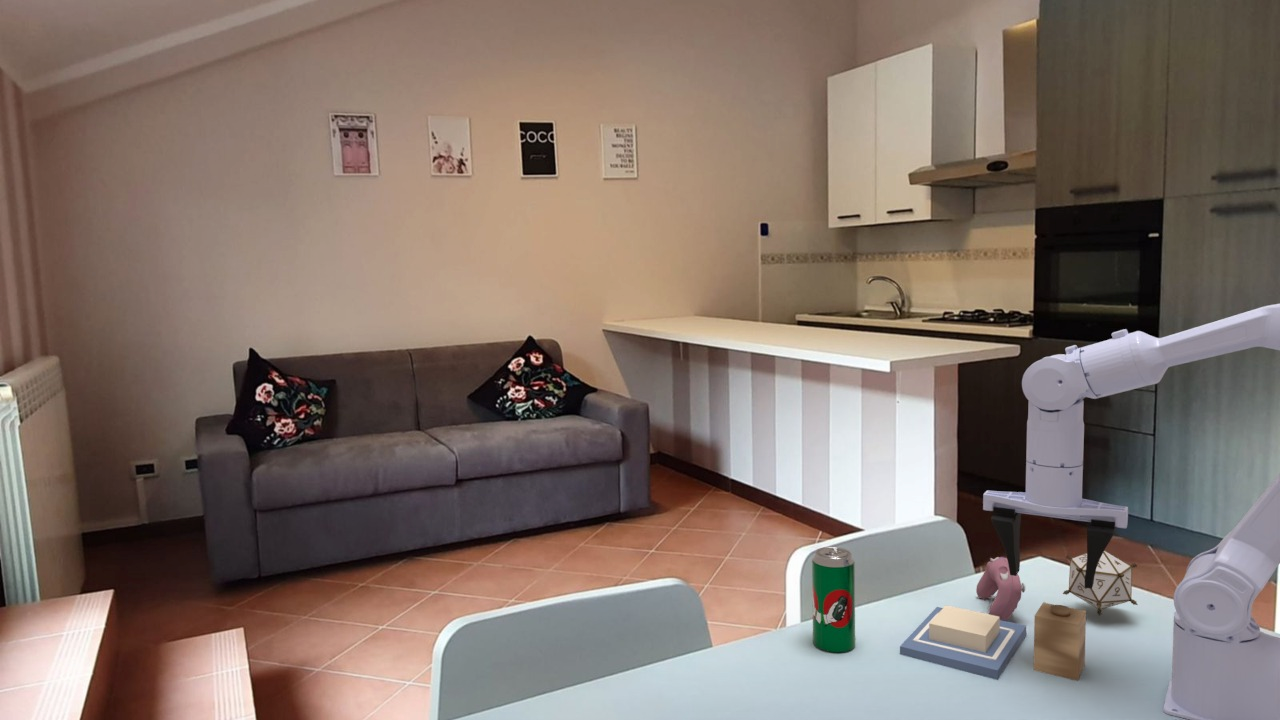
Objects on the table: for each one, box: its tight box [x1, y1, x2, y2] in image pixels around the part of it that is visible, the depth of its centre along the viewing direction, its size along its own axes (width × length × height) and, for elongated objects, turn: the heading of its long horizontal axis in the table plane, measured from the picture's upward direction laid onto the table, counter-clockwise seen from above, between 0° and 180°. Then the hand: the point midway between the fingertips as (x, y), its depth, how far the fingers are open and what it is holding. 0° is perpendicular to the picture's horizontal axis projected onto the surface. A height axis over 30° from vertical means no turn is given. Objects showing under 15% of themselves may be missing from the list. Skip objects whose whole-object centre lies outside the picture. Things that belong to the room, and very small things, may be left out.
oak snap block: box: [1033, 602, 1087, 682], centre depth 95 cm, size 4×4×7 cm
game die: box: [1062, 549, 1139, 617], centre depth 108 cm, size 9×8×10 cm
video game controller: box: [975, 556, 1026, 621], centre depth 111 cm, size 10×5×7 cm, turn 168°
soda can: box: [811, 546, 856, 654], centre depth 101 cm, size 5×5×12 cm
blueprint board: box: [899, 605, 1027, 680], centre depth 101 cm, size 11×14×3 cm
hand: (1051, 578), depth 95 cm, fingers open, 7 cm apart
